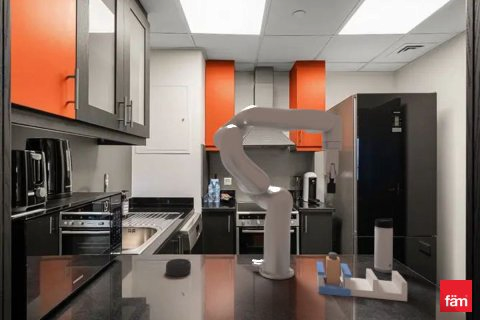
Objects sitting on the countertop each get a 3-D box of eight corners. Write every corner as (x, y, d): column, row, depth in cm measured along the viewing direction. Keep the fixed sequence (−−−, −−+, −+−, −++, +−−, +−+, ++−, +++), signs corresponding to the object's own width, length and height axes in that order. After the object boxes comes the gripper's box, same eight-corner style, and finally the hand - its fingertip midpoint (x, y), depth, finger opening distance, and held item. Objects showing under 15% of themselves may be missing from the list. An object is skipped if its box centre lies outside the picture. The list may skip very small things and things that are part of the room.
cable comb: (317, 293, 93) (318, 272, 93) (316, 280, 104) (316, 261, 104) (408, 302, 88) (408, 280, 88) (396, 287, 98) (396, 267, 99)
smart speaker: (173, 267, 114) (173, 257, 114) (194, 270, 112) (194, 259, 112) (161, 275, 106) (161, 264, 106) (183, 278, 103) (184, 267, 103)
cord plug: (326, 287, 96) (326, 254, 96) (325, 282, 100) (326, 251, 100) (339, 289, 95) (339, 255, 95) (338, 284, 99) (338, 252, 99)
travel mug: (395, 273, 111) (396, 220, 111) (376, 272, 112) (377, 219, 113) (390, 268, 117) (391, 217, 118) (372, 266, 119) (373, 216, 119)
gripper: (320, 147, 126) (320, 191, 126) (323, 145, 111) (322, 194, 111) (339, 148, 124) (338, 192, 124) (344, 145, 110) (343, 195, 109)
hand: (331, 193), depth 117 cm, fingers closed
